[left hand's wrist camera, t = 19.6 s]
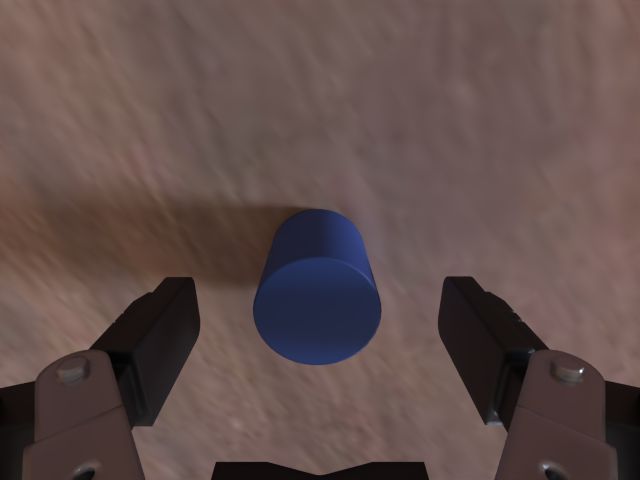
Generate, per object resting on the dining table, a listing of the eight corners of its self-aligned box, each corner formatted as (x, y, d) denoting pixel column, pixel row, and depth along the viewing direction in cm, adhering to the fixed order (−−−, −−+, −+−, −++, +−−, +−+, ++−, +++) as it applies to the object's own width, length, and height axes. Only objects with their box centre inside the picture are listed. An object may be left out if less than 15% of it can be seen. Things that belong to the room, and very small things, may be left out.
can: (341, 192, 13) (350, 235, 9) (377, 272, 14) (400, 340, 10) (255, 232, 14) (228, 288, 10) (297, 305, 15) (289, 381, 11)
